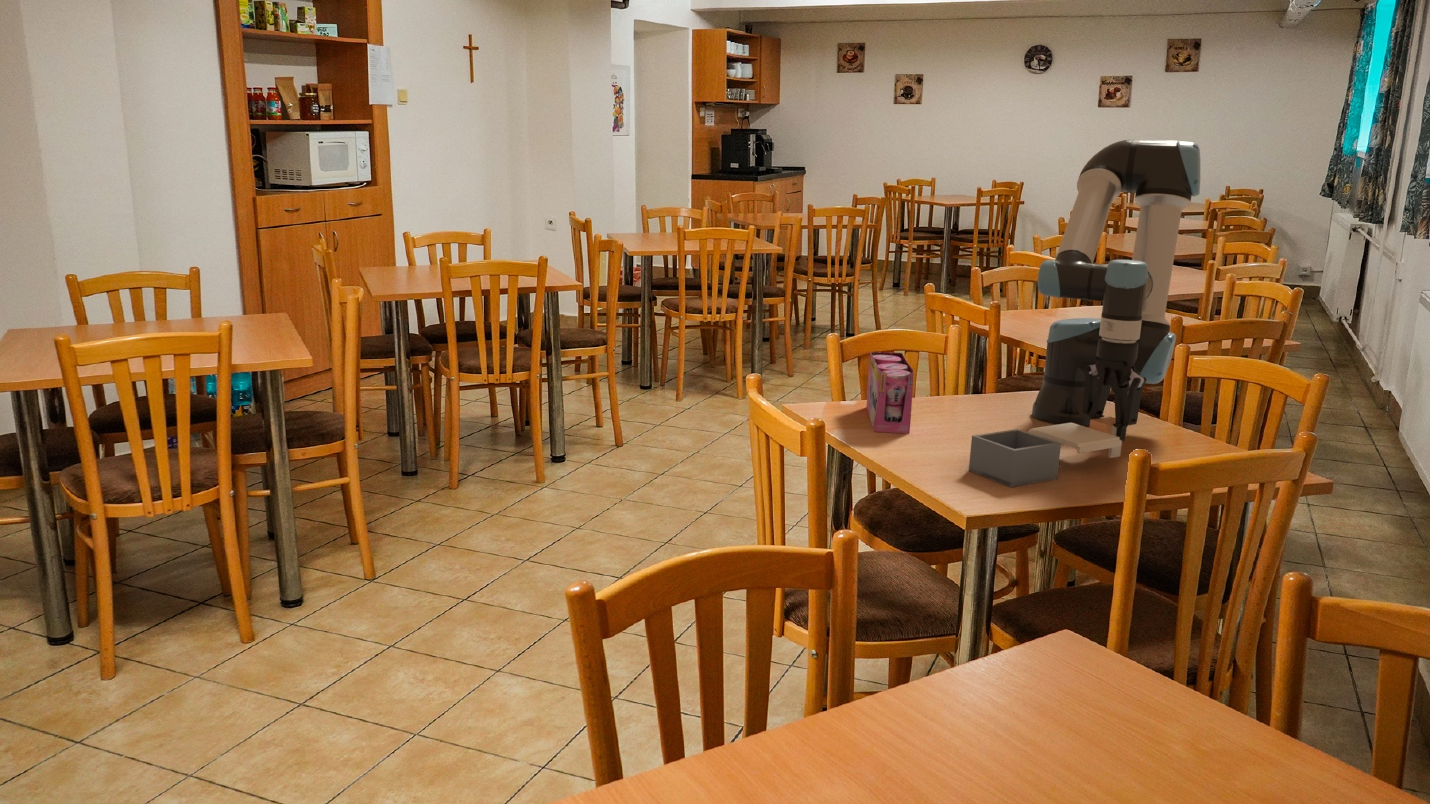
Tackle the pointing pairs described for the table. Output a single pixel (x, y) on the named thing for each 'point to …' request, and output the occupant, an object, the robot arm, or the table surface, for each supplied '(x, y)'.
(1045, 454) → the tub
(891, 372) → the gum box
